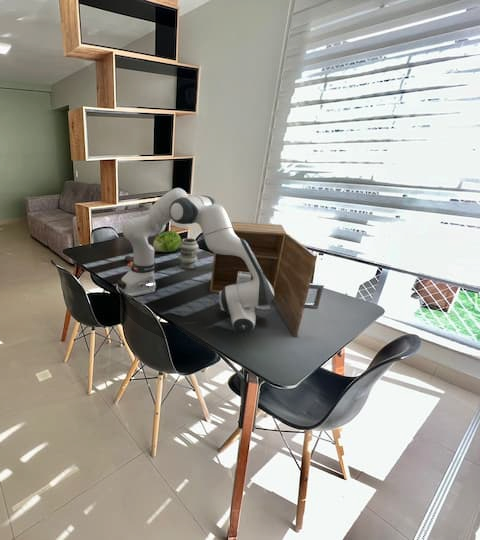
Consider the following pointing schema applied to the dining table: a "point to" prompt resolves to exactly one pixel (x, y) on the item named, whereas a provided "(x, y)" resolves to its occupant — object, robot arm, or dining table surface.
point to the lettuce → (167, 242)
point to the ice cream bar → (129, 259)
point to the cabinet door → (295, 283)
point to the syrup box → (243, 277)
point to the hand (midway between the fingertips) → (242, 292)
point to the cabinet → (263, 247)
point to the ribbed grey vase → (188, 253)
